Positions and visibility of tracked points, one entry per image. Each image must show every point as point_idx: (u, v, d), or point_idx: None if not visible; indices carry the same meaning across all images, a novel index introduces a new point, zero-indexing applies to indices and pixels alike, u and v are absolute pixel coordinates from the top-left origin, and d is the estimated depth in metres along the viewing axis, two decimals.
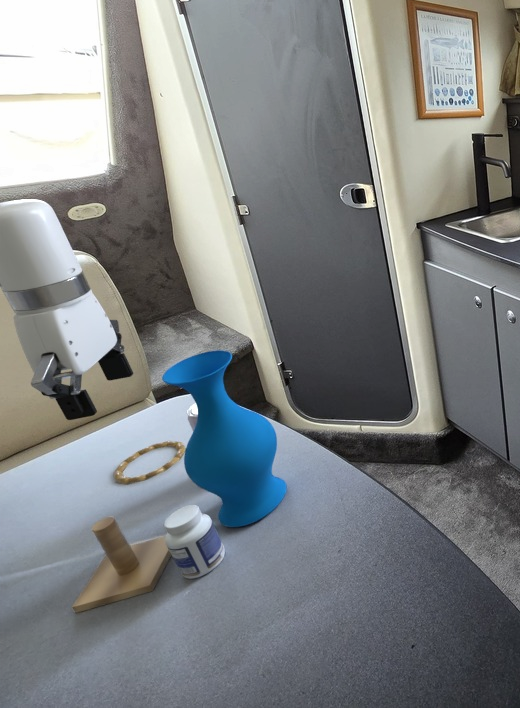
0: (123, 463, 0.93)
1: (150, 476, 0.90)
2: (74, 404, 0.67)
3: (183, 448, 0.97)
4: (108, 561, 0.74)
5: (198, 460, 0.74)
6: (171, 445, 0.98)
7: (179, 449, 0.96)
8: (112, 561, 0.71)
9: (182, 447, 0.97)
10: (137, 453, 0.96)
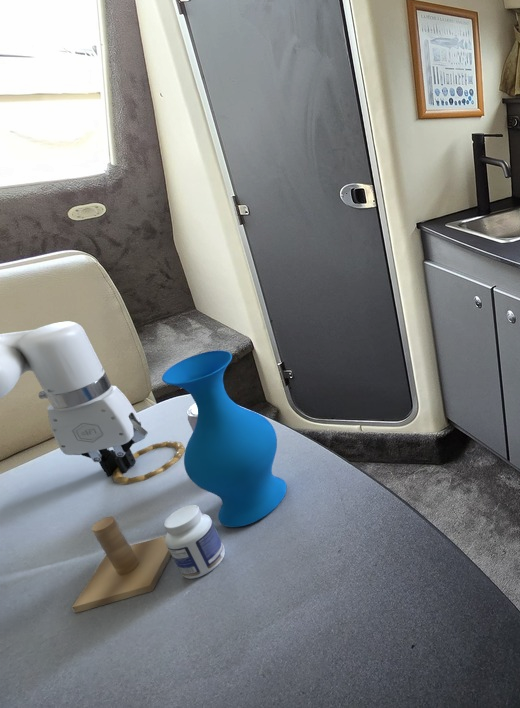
0: None
1: (149, 476, 0.90)
2: (131, 455, 0.93)
3: (183, 448, 0.97)
4: (108, 561, 0.74)
5: (198, 460, 0.74)
6: (170, 445, 0.98)
7: (178, 449, 0.96)
8: (112, 561, 0.71)
9: (181, 447, 0.97)
10: (136, 453, 0.96)
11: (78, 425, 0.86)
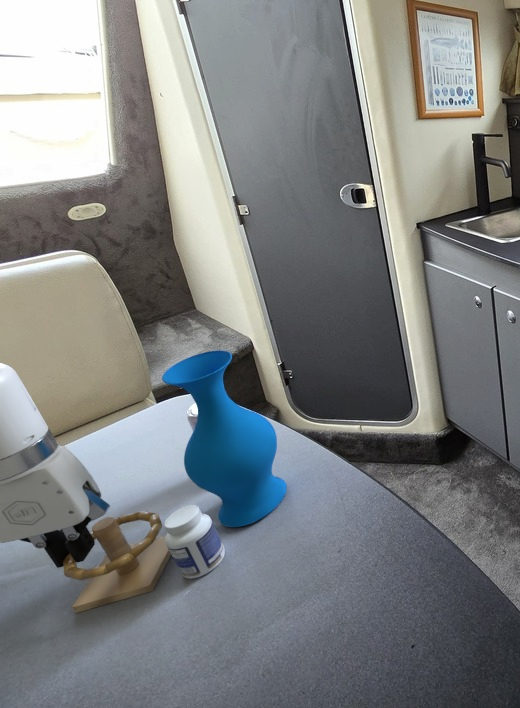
0: None
1: (112, 567, 0.68)
2: (88, 535, 0.70)
3: (159, 523, 0.74)
4: (108, 561, 0.74)
5: (198, 460, 0.74)
6: (143, 518, 0.75)
7: (153, 525, 0.73)
8: None
9: (157, 522, 0.74)
10: None
11: (10, 504, 0.63)
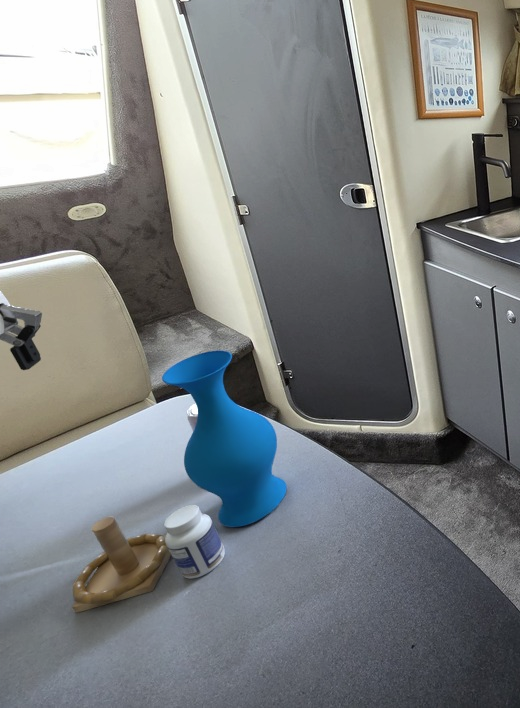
0: (86, 569, 0.72)
1: (120, 591, 0.69)
2: (34, 347, 0.76)
3: (165, 545, 0.75)
4: (108, 561, 0.74)
5: (198, 460, 0.74)
6: (150, 540, 0.76)
7: (160, 547, 0.75)
8: (112, 561, 0.71)
9: (164, 544, 0.75)
10: (105, 553, 0.74)
11: None
